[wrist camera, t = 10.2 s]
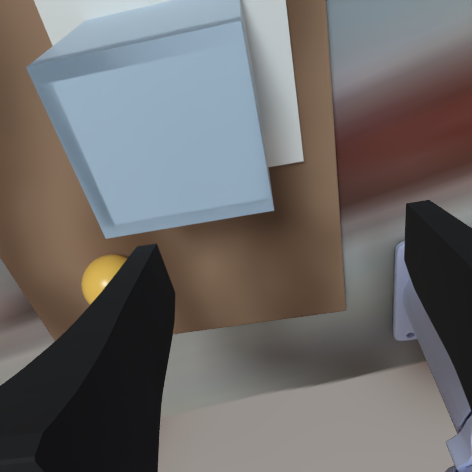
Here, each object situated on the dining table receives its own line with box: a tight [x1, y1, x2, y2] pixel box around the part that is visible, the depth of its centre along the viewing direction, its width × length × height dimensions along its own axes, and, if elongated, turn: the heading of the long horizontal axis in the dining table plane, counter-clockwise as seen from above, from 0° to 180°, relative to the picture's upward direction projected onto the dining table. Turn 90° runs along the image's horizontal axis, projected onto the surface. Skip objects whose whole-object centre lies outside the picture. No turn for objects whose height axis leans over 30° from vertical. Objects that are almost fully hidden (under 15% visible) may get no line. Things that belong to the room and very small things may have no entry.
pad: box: [34, 0, 304, 167], centre depth 18 cm, size 9×9×1 cm
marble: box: [81, 254, 128, 305], centre depth 23 cm, size 3×3×3 cm
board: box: [0, 0, 346, 341], centre depth 22 cm, size 18×20×1 cm
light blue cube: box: [26, 0, 274, 239], centre depth 16 cm, size 6×6×6 cm
